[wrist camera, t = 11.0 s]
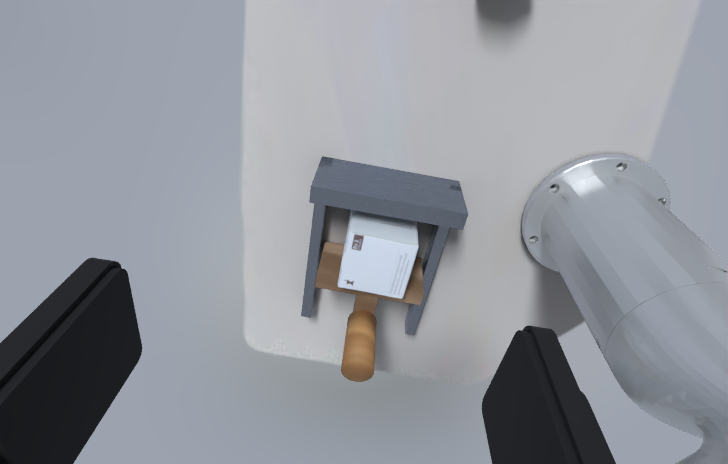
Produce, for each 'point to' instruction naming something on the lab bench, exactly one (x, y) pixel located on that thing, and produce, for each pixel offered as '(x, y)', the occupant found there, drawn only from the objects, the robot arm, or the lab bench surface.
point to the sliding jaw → (362, 312)
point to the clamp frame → (384, 212)
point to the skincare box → (378, 254)
